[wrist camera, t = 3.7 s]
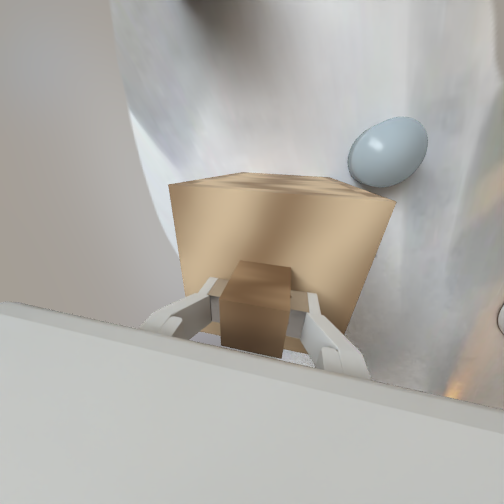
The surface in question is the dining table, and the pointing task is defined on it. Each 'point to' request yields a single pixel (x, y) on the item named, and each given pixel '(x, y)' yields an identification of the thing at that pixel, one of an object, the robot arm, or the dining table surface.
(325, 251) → the oak cover
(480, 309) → the dining table surface
